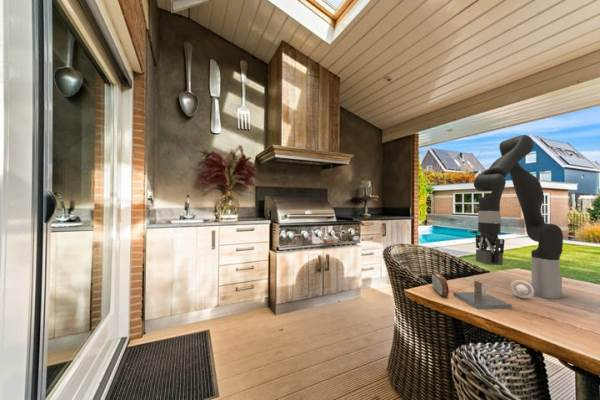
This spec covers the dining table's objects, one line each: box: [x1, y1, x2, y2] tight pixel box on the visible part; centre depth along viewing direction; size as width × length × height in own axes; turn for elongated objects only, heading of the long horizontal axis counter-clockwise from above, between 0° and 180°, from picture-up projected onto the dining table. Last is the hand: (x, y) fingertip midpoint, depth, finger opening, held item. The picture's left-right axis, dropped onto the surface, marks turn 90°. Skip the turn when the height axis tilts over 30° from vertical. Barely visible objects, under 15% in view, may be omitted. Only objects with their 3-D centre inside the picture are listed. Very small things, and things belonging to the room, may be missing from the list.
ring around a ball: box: [510, 279, 535, 300], centre depth 108 cm, size 8×6×8 cm
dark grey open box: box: [475, 248, 504, 266], centre depth 102 cm, size 6×6×5 cm
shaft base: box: [453, 279, 512, 310], centre depth 105 cm, size 14×14×9 cm
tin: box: [431, 272, 450, 297], centre depth 115 cm, size 15×3×8 cm, turn 168°
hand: (488, 261), depth 102 cm, fingers closed on dark grey open box, 6 cm apart
